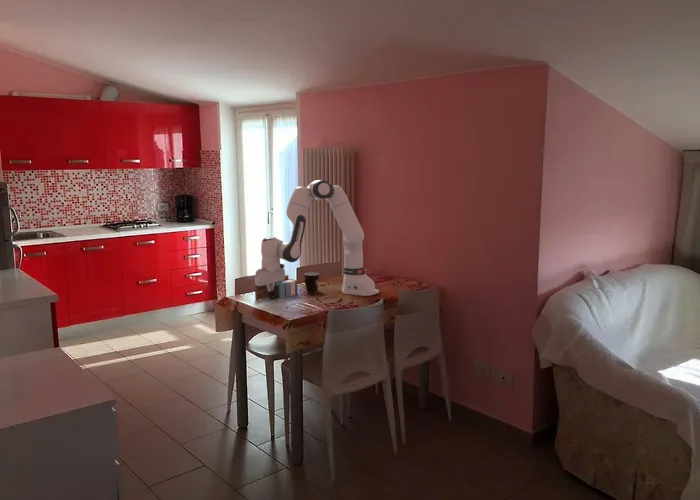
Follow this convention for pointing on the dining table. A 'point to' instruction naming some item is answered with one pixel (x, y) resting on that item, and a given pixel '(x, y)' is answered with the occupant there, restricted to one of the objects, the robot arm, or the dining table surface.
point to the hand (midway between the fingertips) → (270, 291)
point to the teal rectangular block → (281, 289)
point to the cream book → (292, 287)
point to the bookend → (275, 293)
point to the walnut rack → (270, 291)
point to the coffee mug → (311, 281)
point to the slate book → (286, 288)
